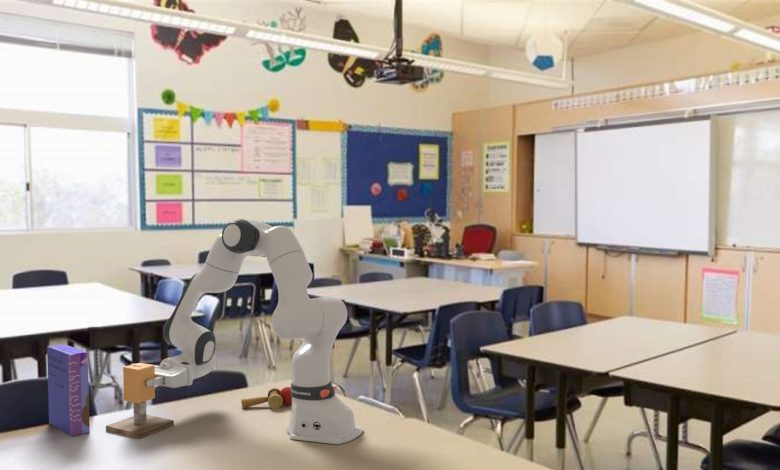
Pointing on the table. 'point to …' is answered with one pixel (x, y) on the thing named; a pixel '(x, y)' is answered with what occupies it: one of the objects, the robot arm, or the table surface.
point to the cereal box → (68, 389)
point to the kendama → (271, 398)
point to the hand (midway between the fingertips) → (136, 381)
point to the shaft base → (138, 428)
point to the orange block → (138, 382)
